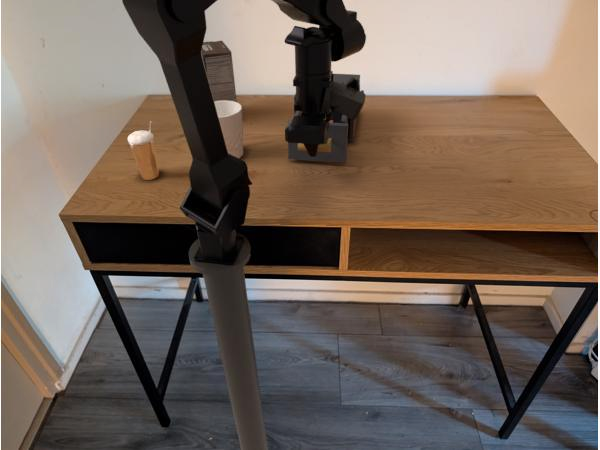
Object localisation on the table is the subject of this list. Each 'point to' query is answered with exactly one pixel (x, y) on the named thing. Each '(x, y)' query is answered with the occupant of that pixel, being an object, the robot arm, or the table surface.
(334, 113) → the drawer
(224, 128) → the white cup
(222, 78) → the coffee box
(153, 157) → the milkshake
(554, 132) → the table surface
